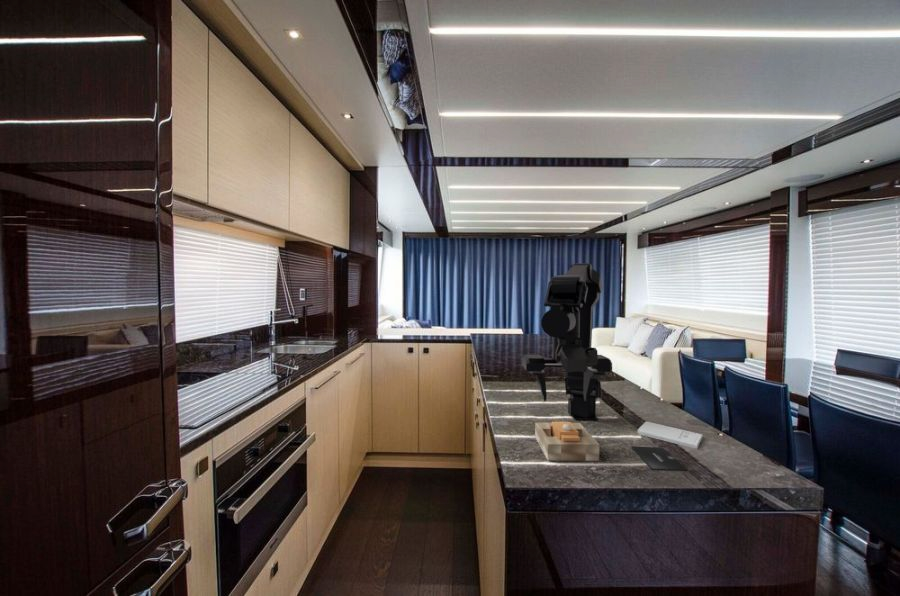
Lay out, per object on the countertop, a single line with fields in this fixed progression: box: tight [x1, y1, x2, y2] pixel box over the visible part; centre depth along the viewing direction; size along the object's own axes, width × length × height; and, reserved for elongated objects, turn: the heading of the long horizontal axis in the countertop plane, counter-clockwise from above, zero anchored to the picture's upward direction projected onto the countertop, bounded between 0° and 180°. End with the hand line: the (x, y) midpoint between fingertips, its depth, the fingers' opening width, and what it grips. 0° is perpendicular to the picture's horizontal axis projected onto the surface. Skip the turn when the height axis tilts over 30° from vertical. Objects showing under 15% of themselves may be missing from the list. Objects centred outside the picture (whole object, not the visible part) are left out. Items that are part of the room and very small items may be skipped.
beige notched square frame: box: [534, 422, 600, 462], centre depth 82 cm, size 11×12×4 cm
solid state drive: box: [630, 446, 688, 472], centre depth 77 cm, size 7×10×1 cm
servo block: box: [551, 421, 580, 441], centre depth 82 cm, size 4×9×6 cm, turn 179°
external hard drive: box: [637, 421, 704, 449], centre depth 89 cm, size 2×8×12 cm
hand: (565, 400), depth 82 cm, fingers open, 9 cm apart
